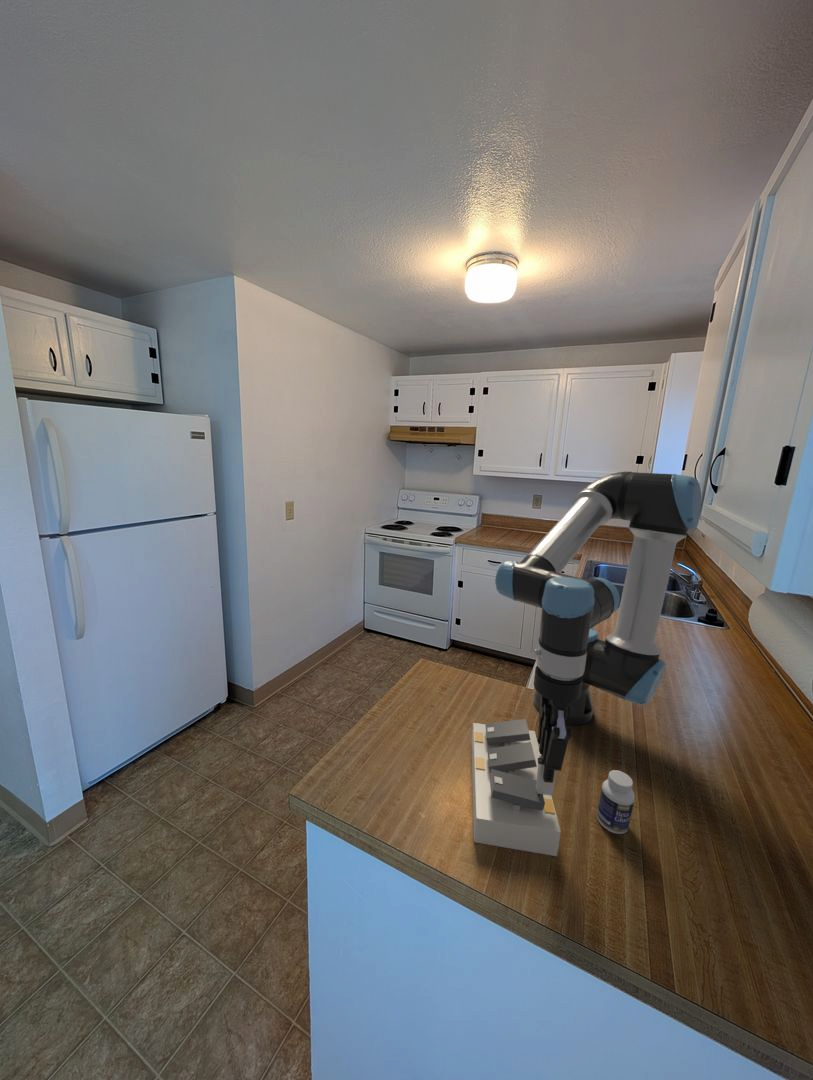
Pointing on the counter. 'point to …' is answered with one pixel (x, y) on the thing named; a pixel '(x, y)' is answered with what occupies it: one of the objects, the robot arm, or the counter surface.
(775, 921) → the counter surface
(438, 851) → the counter surface
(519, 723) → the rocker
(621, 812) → the pill bottle
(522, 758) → the block
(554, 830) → the switch unit
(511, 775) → the block
